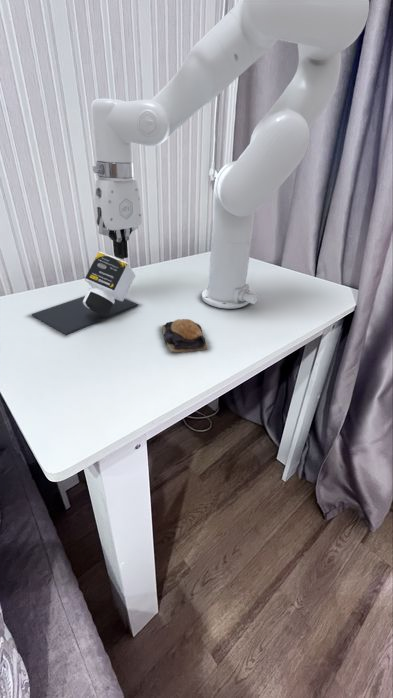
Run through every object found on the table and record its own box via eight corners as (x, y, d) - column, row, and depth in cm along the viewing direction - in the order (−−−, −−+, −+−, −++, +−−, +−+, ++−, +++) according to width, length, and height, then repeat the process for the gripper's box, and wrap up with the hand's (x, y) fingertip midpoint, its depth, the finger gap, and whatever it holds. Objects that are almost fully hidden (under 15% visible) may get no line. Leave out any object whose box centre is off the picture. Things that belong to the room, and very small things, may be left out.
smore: (159, 328, 72) (159, 312, 70) (197, 325, 74) (197, 310, 72) (168, 354, 64) (168, 337, 62) (210, 349, 65) (211, 333, 64)
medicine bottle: (127, 262, 70) (102, 312, 68) (136, 275, 77) (113, 321, 75) (98, 250, 71) (73, 299, 69) (109, 264, 78) (86, 309, 76)
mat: (137, 305, 81) (137, 304, 81) (65, 335, 68) (65, 333, 67) (103, 291, 88) (103, 289, 88) (31, 315, 74) (31, 313, 74)
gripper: (97, 174, 63) (106, 267, 73) (152, 172, 74) (154, 254, 83) (74, 170, 67) (85, 259, 77) (130, 169, 77) (133, 248, 87)
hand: (121, 257), depth 80 cm, fingers closed
